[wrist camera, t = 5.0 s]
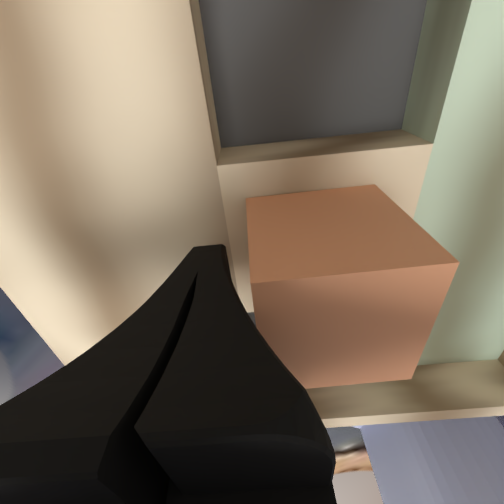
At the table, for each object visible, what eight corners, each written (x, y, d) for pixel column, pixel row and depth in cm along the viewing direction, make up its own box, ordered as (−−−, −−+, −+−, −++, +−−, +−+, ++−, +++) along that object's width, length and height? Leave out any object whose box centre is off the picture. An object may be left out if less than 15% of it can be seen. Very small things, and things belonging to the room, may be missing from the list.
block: (375, 184, 10) (459, 262, 6) (358, 282, 12) (411, 379, 9) (245, 198, 10) (250, 283, 6) (256, 292, 12) (264, 392, 9)
